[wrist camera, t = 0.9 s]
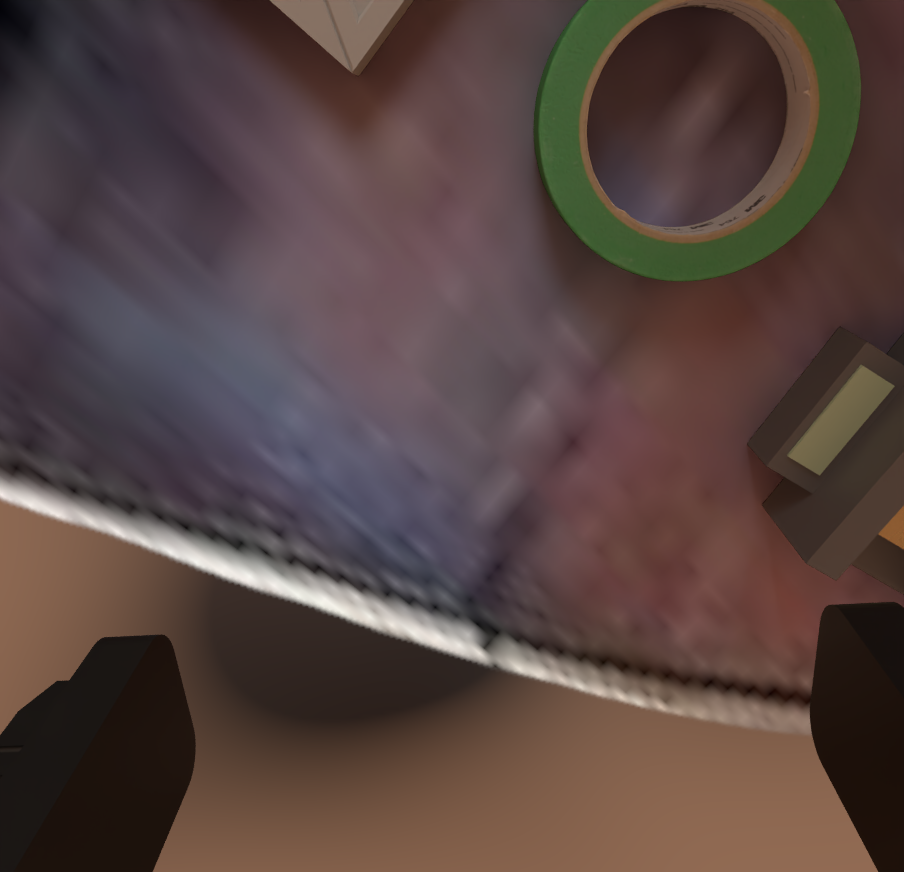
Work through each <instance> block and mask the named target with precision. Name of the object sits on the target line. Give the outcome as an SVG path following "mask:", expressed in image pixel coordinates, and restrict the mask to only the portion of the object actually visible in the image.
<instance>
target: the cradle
mask: <svg viewBox="0 0 904 872" xmlns="http://www.w3.org/2000/svg"><path fill="white" fill-rule="evenodd" d="M747 444H748V445H749V447H750V448H751V449H752V450H753V451H754V452H755V454H756V455H757V456H758V457H759V458H760V459H761V461H762V462H763V463H764V464H765V465H766V466H767V467H768V468H770V469H772V470H773V471H775V472H777V473H779V474H780V475H782V476H784V477H785V478H784V479H783V480H782V481H781V483H780V484H779V485H778V486H777V488H776V489H775V490H774V491H773V492H772V494H771V495H770V496H769V497H768V498H767V500H766V501H765V502H764V503H763V505H762V506H763V507H764V509H765V510H766V511H767V513H768V514H769V515H770V517H771V518H772V519H773V521H774V522H775V523H776V525H777V526H778V527H779V529H780V530H781V531H782V532H783V534H784V535H785V536H786V538H787V539H788V540H789V542H790V543H791V544H792V546H793V547H794V548H795V550H796V551H797V552H798V554H799V555H800V556H801V558H802V559H803V560H804V561H805V563H806V564H808V565H810V566H811V567H813V568H815V569H817V570H818V571H820V572H822V573H824V574H825V575H827V576H829V577H831V578H832V579H834V580H837V579H838V578H839V577H840V576H841V575H842V574H843V573H844V571H845V570H846V569H847V568H848V567H849V566H850V565H851V564H852V565H853V566H855V567H857V568H858V569H860V570H862V571H864V572H865V573H867V574H869V575H871V576H872V577H874V578H876V579H877V580H879V581H881V582H883V583H884V584H886V585H888V586H889V587H891V588H893V589H895V590H896V591H898V592H900V593H901V594H903V595H904V549H902V548H901V547H899V546H897V545H895V544H894V543H892V542H890V541H889V540H887V539H885V538H884V537H882V536H880V535H879V533H880V531H881V530H882V529H883V528H884V527H885V526H886V525H887V524H888V523H889V521H890V520H891V519H892V518H893V517H894V516H895V515H896V514H897V513H898V511H899V510H900V509H901V508H902V507H903V506H904V333H903V335H902V336H901V337H900V338H899V340H898V341H897V342H896V343H895V344H894V346H893V347H892V348H891V349H890V350H889V352H888V353H887V354H885V353H884V352H882V351H880V350H879V349H877V348H876V347H874V346H873V345H871V344H870V343H868V342H866V341H865V340H863V339H861V338H859V337H858V336H856V335H854V334H852V333H850V332H849V331H847V330H845V329H843V328H841V327H839V328H838V329H837V331H836V332H835V333H834V334H833V336H832V337H831V338H830V339H829V341H828V342H827V343H826V345H825V346H824V347H823V348H822V350H821V351H820V352H819V353H818V355H817V356H816V357H815V358H814V360H813V361H812V362H811V363H810V365H809V366H808V367H807V369H806V370H805V371H804V372H803V374H802V375H801V376H800V377H799V379H798V380H797V381H796V382H795V384H794V385H793V386H792V388H791V389H790V390H789V391H788V393H787V394H786V395H785V396H784V398H783V399H782V400H781V401H780V403H779V404H778V405H777V406H776V408H775V409H774V410H773V412H772V413H771V414H770V415H769V417H768V418H767V419H766V420H765V422H764V423H763V424H762V425H761V427H760V428H759V429H758V431H757V432H756V433H755V434H754V436H753V437H752V438H751V439H750V441H749V442H748V443H747Z"/></svg>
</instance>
